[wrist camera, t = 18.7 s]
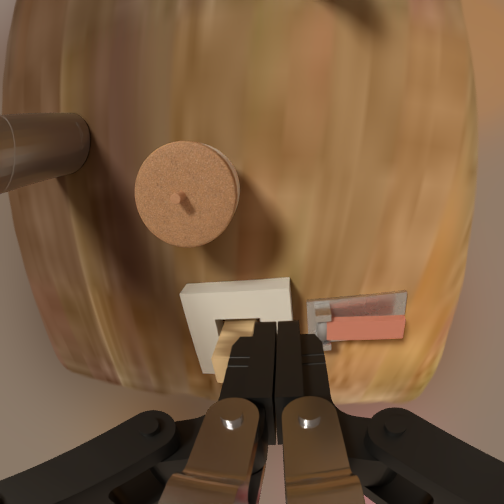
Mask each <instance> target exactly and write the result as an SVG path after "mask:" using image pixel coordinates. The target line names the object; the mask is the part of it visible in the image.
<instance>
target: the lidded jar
mask: <svg viewBox="0 0 504 504" xmlns="http://www.w3.org/2000/svg"><path fill="white" fill-rule="evenodd" d="M239 197H240V183H239V179H238V175H237V172H236V170H235V168H234V166H233V164H232V163H231V161H230V160H229V159H228V158H227V157H226V156H225V155H224V154H223V153H222V152H220V151H219V150H217V149H215V148H214V147H212V146H209V145H206V144H203V143H198V142H193V141H177V142H172V143H168V144H165V145H163V146H161V147H160V148H158V149H156V150H155V151H154V152H152V153H151V154H150V155H149V156H148V157H147V159H146V160H145V161H144V163H143V164H142V166H141V168H140V170H139V172H138V175H137V179H136V184H135V200H136V206H137V209H138V212H139V214H140V217H141V219H142V220H143V222H144V223H145V225H146V226H147V228H148V229H149V230H150V231H151V232H152V233H153V234H154V235H155V236H157V237H158V238H159V239H161V240H163V241H164V242H167V243H169V244H171V245H175V246H178V247H197V246H201V245H204V244H207V243H209V242H211V241H212V240H214V239H216V238H217V237H218V236H219V235H220V234H221V233H222V232H223V231H224V230H225V229H226V228H227V226H228V225H229V223H230V221H231V220H232V218H233V215H234V213H235V211H236V208H237V206H238V201H239Z"/></svg>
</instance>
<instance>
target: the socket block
mask: <svg viewBox="0 0 504 504" xmlns="http://www.w3.org/2000/svg"><path fill="white" fill-rule="evenodd" d="M180 298H181V302H182V305H183V309H184V313H185V316H186V320H187V323H188V327H189V330H190V333H191V337H192V340H193V343H194V347H195V350H196V353H197V356H198V360H199V363H200V366H201V369H202V372H203V373H207V374H215V372H214V368H213V364H212V360H211V358H212V355H213V352H214V350H215V347H216V344H217V341H218V339H219V336H220V333H221V331H222V328H223V321H222V319H248V318H260V321H261V322H273V321H276V323H277V330H278V321H293V311H292V299H291V288H290V277H286V278H272V279H258V280H243V281H227V282H209V283H191V284H186V285H185V287H184V288H183V290H182V291H181V293H180Z"/></svg>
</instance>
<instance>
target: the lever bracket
mask: <svg viewBox="0 0 504 504" xmlns="http://www.w3.org/2000/svg"><path fill="white" fill-rule="evenodd" d="M406 299H407V291H406V290H402V291H393V292H384V293H375V294H366V295H356V296H345V297H334V298H322V299H310V300H307V316H308V334H315V335H316V336H317V322H329V321H331V317H352V316H387V315H404V314H405V307H406ZM334 341H345V340H326V341H321V342H322V344H323V350H324V351H327V350H331V342H334Z"/></svg>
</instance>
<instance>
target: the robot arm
mask: <svg viewBox="0 0 504 504" xmlns="http://www.w3.org/2000/svg"><path fill="white" fill-rule="evenodd" d="M89 148H90V133H89V129H88V126H87V124H86V122H85V121H84V119H83V118H82V117H80V116H79V115H77V114H74V113H28V114H9V115H0V194H2V193H5V192H8V191H11V190H14V189H17V188H21V187H24V186H27V185H31V184H34V183H37V182H41V181H44V180H48V179H52V178H56V177H60V176H63V175H67V174H71V173H74V172H76V171H77V170H79V169H80V167H81V166H82V165H83V164H84V162H85V160H86V158H87V156H88V152H89ZM276 428H277V438H278V445H279V444H283V462H284V480H285V499H286V504H365V500H364V495H365V496H366V497H368V498H369V499H370V500H372V501H373V502H374V503H376V504H504V462H502V461H500V460H498V459H496V458H494V457H492V456H490V455H488V454H486V453H484V452H482V451H480V450H478V449H477V448H475V447H473V446H471V445H469V444H467V443H465V442H463V441H462V440H460V439H458V438H456V437H454V436H452V435H451V434H449V433H447V432H445V431H443V430H442V429H440V428H438V427H436V426H435V425H433V424H431V423H429V422H428V421H426V420H424V419H422V418H421V417H419V416H417V415H415V414H414V413H412V412H410V411H408V410H405V409H403V408H387V409H384V410H381V411H380V412H378V413H376V414H375V415H374V416H373V417H372V418H364V417H356V416H351V415H348V414H346V413H344V412H342V411H340V410H339V409H338V408H337V407H336V406H335V405H334V404H333V402H332V399H331V395H330V388H329V381H328V375H327V368H326V363H325V356H324V350H323V344H322V342H321V340H320V339H319V338H318V337H317V336H316V335H315V334H300V330H299V320H293V321H278V330H277V323H276V321H273V322H255V325H254V332H253V336H245V337H239V339H238V340H237V341H236V342H235V343H234V344H233V345H232V348H231V352H230V358H229V361H228V365H227V369H226V373H225V377H224V381H223V385H222V389H221V393H220V397H219V401H218V402H216V403H214V404H213V405H212V406H211V407H210V408H209V409H208V410H207V412H206V415H204V416H201V417H199V418H195V419H190V420H184V421H176V422H174V420H173V419H172V417H170V416H169V415H168V414H166V413H164V412H162V411H156V410H151V411H145V412H142V413H140V414H138V415H136V416H134V417H132V418H130V419H129V420H127V421H125V422H123V423H121V424H120V425H118V426H116V427H114V428H112V429H110V430H109V431H107V432H105V433H103V434H101V435H99V436H97V437H95V438H93V439H92V440H90V441H88V442H86V443H84V444H82V445H80V446H78V447H76V448H74V449H72V450H70V451H68V452H66V453H63V454H62V455H59V456H57V457H55V458H53V459H51V460H48V461H46V462H44V463H42V464H40V465H37V466H35V467H33V468H30V469H28V470H26V471H23V472H21V473H18V474H16V475H14V476H11V477H8V478H6V479H3V480H1V481H0V504H259V500H260V494H261V489H262V484H263V479H264V473H265V468H266V460H267V452H268V445H275V444H276ZM363 494H364V495H363Z"/></svg>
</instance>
